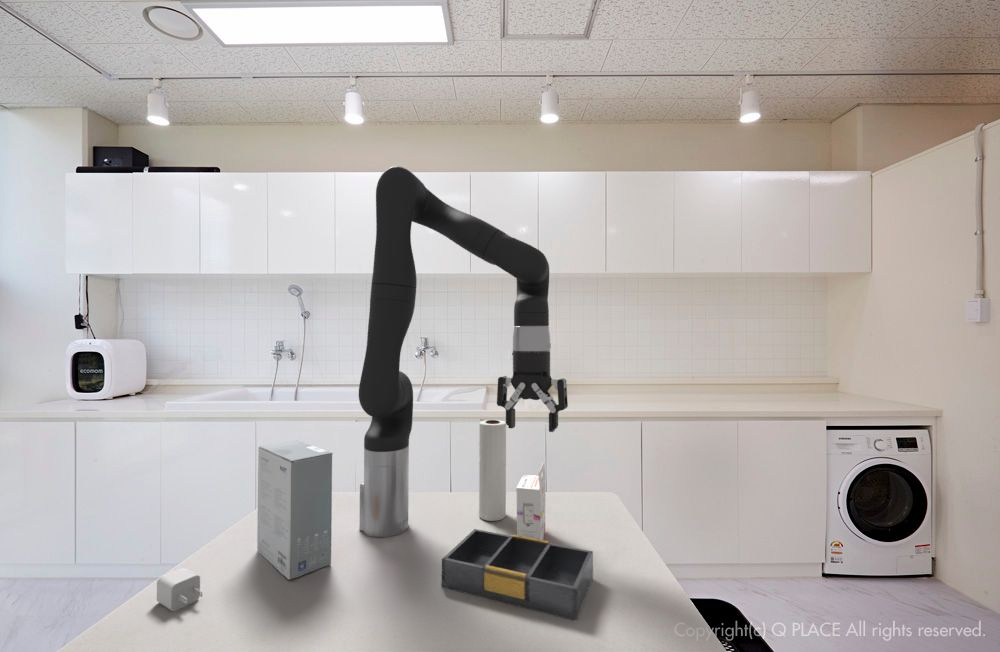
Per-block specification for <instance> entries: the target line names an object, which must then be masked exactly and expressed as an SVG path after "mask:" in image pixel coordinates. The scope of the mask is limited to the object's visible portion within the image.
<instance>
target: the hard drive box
mask: <svg viewBox="0 0 1000 652" xmlns="http://www.w3.org/2000/svg"><path fill="white" fill-rule="evenodd" d="M257 459H258V460H257V461H258V463H257V465H258V469H257V471H258V473H257V478H258V479H257V533H256V535H257V539H256V540H257V541H256V542H257V546H256V547H257V552H258V553H259V554H260V555H261V556H263V558H264V559H265V560H267V562H269V563H270V564H271V565H272V566H273V567H274V568H276V570H277V571H278V572H279V573H280V574H281V575H282V576H284V577H285V578H286V579H287V580H288V581H289V580H294V579H296V578H298V577H301V576H304V575H306V574H308V573H311V572H314V571H317V570H319V569H322V568H324V567H326V566H329V565H332V525H333V524H332V520H333V519H332V516H333V515H332V513H333V512H332V511H333V510H332V507H333V506H332V505H333V503H332V502H333V501H332V499H333V498H332V497H333V496H332V495H333V493H332V491H333V484H332V483H333V452H331V451H329V450H326V449H323V448H320V447H317V446H315V445H311V444H309V443H307V442H306V443H305V442H302V441H299V440H296V439H295V440H290V441H285V442H277V443H273V444H267V445H260V446H259V447H258V458H257Z"/></svg>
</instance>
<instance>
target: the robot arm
mask: <svg viewBox="0 0 1000 652" xmlns="http://www.w3.org/2000/svg"><path fill="white" fill-rule="evenodd" d="M375 215H376V216H375V219H376V221H375V223H376V228H375V232H376V234H375V235H376V236H375V244H374V245H375V246H374V255H373V268H372V277H371V287H370V298H369V314H368V326H367V339H366V349H365V355H364V358H363V359H364V361H363V366H362V370H361V375H360V380H359V386H358V400H359V405H360V407H361V409H362V410H363V411H364V413H366V415H368V416H369V417H371V421H370V425H369V427H368V429H367V430H366V432H365V434H364V437H363V438H364V439H363V482H361V483H360V484H359V530H361V531H363V532H364V534H366V535H367V536H370V537H373V538H386V537H393V536H397V535H399V534H402V533H404V532H405V531H407V530H408V528H409V501H410V500H409V491H410V490H409V489H410V488H409V484H410V482H409V477H410V476H409V475H410V474H409V473H410V472H409V471H410V470H409V469H410V465H409V464H410V463H409V461H410V460H409V459H410V457H409V456H410V436H411V432H412V429H413V414H414V413H413V412H414V389H413V384H412V381H411V380H410V378H409V376H407V374H405V372H403V371H401V370H400V365H401V364H400V361H401V352H402V347H403V344H404V341H405V338H406V335H407V333H408V330H409V327H410V324H411V323H412V319H413V315H414V311H415V306H416V297H417V283H418V282H417V279H418V278H417V270H416V264H415V263H416V262H415V259H414V254H413V247H412V242H411V241H412V238H411V237H412V236H411V233H412V223H416V224H418V225H421V226H423V227H426V228H428V229H430V230H433V231H434V232H436V233H438V234H440V235H443V236H444V237H446V238H448V239H449V240H450V241H451V242H453V243H455V244H456V245H458V246H459V247H461V248H463V249H464V250H465V251H467V252H468V253H470V254H472V255H474V256H475V257H478V259H479V258H480V259H481V260H483V261H485V262H486V263H488V264H491V265H493V266H497V267H498V268H499V269H501V270H503V271H504V272H506V273H508V274H509V275H511V277H514V278H515V279H516V300H515V302H514V306H513V335H512V376H511V377H508V376H507V375H504V376H500V377H498V378H497V390H496V391H497V393H496V406H498V407H502V408H504V409H505V422H506V426H508V427H507V428H508V429H514V428H515V427H516V408H515V406H516V405H517V404H518V402H519V401H520V400H521V399H522V400H533V401H538V400H541V402H542V403H543V404H544V405H545V406H546V408H547V409H548V410H549V413H548V432H549V433H554V432H555V431H556V429H558V427H559V412H560V411H564V410H565V409H567V408H568V407H569V406H568V405H569V404H568V403H569V402H568V401H569V400H568V390H567V389H568V388H567V379H565V378H557V379H553V378H552V377H551V348H552V347H551V346H552V345H551V344H552V343H551V335H550V327H549V325H550V323H549V321H550V319H549V317H550V316H549V315H550V312H549V300H548V299H549V298H548V297H549V287H550V264H549V262H548V259H547V257H546V255H545V254H544V253H543V252H542V251H541V250H539V249H538V248H536V247H534V246H532V245H531V244H529V243H526V242H525V241H522V240H520V239H517V238H515V237H513V236H510V235H509V234H508V233H506V232H505V231H503V230H502V229H501V230H500V229H499V228H498V227H496V226H494V225H492V224H491V223H488V222H487V221H484V220H483V219H481V218H478V217H476V216H475V215H471V214H469V213H467V212H465V211H461V210H459V209H457V208H455V207H453V206H452V205H449V204H448V203H446V202H445V201H443V200H442V199H440V198H439V197H438V196H437V195H435V194H434V193H433V192H432V191H430V190H429V189H428V188H427V187H426V186H425V184H424V183H423V182H422V181H421V180H420V179H419V178H418V176H416V175H415V174H414V173H413V172H412V171H410V170H409V169H407V168H405V167H403V166H397V165H396V166H391V167H389V168H387V169H386V170H385V171H384V172H383V173H382V174H381V175H380V176H379V178H378V181H377V184H376V188H375ZM510 386H512V387H513V389H514V391H513V393H512V394H511V396H510V398H509V399H507V398H508V388H509V387H510ZM552 386H553V387H554V390H555V391H557V401H558V402H556V401H555V399H554V397H553V395H552V394H551V392H550V391H549V390H550V389H551V388H552ZM557 403H558V404H557Z"/></svg>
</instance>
